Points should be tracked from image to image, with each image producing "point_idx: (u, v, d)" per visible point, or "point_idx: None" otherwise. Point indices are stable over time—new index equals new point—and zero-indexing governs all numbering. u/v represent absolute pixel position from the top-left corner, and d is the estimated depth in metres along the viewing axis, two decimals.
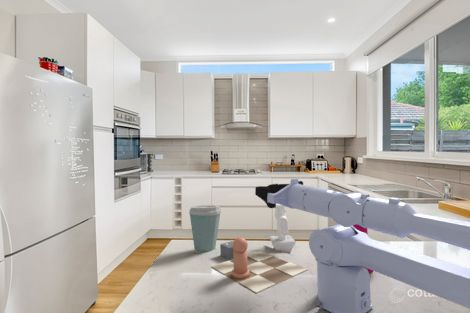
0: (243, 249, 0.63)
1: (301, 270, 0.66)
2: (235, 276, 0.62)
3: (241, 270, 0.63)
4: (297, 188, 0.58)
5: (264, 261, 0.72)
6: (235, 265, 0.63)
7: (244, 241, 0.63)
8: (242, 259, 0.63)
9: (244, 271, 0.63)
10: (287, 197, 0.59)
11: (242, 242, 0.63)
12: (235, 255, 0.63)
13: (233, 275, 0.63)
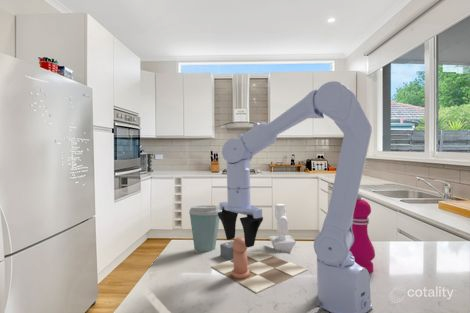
0: (243, 249, 0.63)
1: (301, 270, 0.66)
2: (235, 276, 0.62)
3: (241, 270, 0.63)
4: (236, 198, 0.62)
5: (264, 261, 0.72)
6: (235, 265, 0.63)
7: (244, 241, 0.63)
8: (242, 259, 0.63)
9: (244, 271, 0.63)
10: (246, 206, 0.62)
11: (242, 242, 0.63)
12: (235, 255, 0.63)
13: (233, 275, 0.63)
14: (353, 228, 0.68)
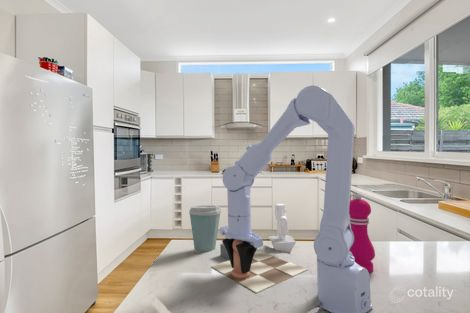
0: None
1: (301, 270, 0.66)
2: (235, 276, 0.62)
3: None
4: (237, 226, 0.62)
5: (264, 261, 0.72)
6: (235, 265, 0.63)
7: None
8: None
9: None
10: (247, 233, 0.62)
11: (242, 242, 0.63)
12: (235, 255, 0.63)
13: (233, 275, 0.63)
14: (353, 228, 0.68)
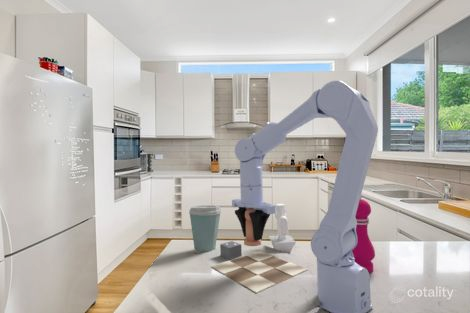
0: None
1: (301, 270, 0.66)
2: (247, 243, 0.65)
3: (253, 238, 0.65)
4: (250, 195, 0.64)
5: (264, 261, 0.72)
6: (247, 233, 0.66)
7: None
8: None
9: None
10: (259, 202, 0.65)
11: (254, 211, 0.66)
12: (247, 224, 0.66)
13: (245, 243, 0.66)
14: None
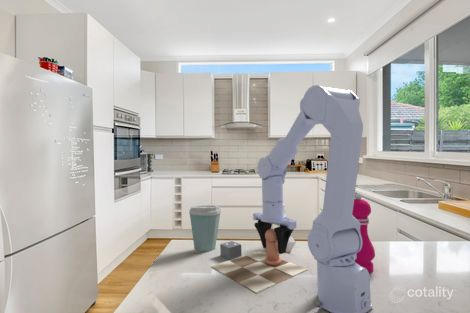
0: (275, 239, 0.70)
1: (301, 270, 0.66)
2: (269, 263, 0.70)
3: (274, 258, 0.70)
4: (272, 211, 0.69)
5: (264, 261, 0.72)
6: (268, 253, 0.70)
7: None
8: (275, 248, 0.70)
9: (277, 258, 0.70)
10: (281, 217, 0.69)
11: (274, 233, 0.70)
12: (268, 245, 0.70)
13: (267, 262, 0.70)
14: None
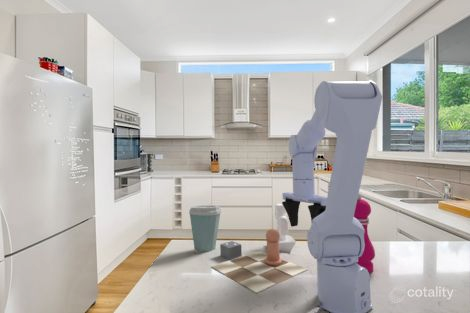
0: (276, 239, 0.70)
1: (301, 270, 0.66)
2: (269, 263, 0.70)
3: (274, 258, 0.70)
4: (303, 188, 0.68)
5: (264, 261, 0.72)
6: (269, 253, 0.70)
7: (277, 232, 0.71)
8: (275, 248, 0.70)
9: (277, 258, 0.70)
10: (312, 195, 0.68)
11: (275, 233, 0.70)
12: (269, 244, 0.70)
13: (267, 262, 0.70)
14: None
